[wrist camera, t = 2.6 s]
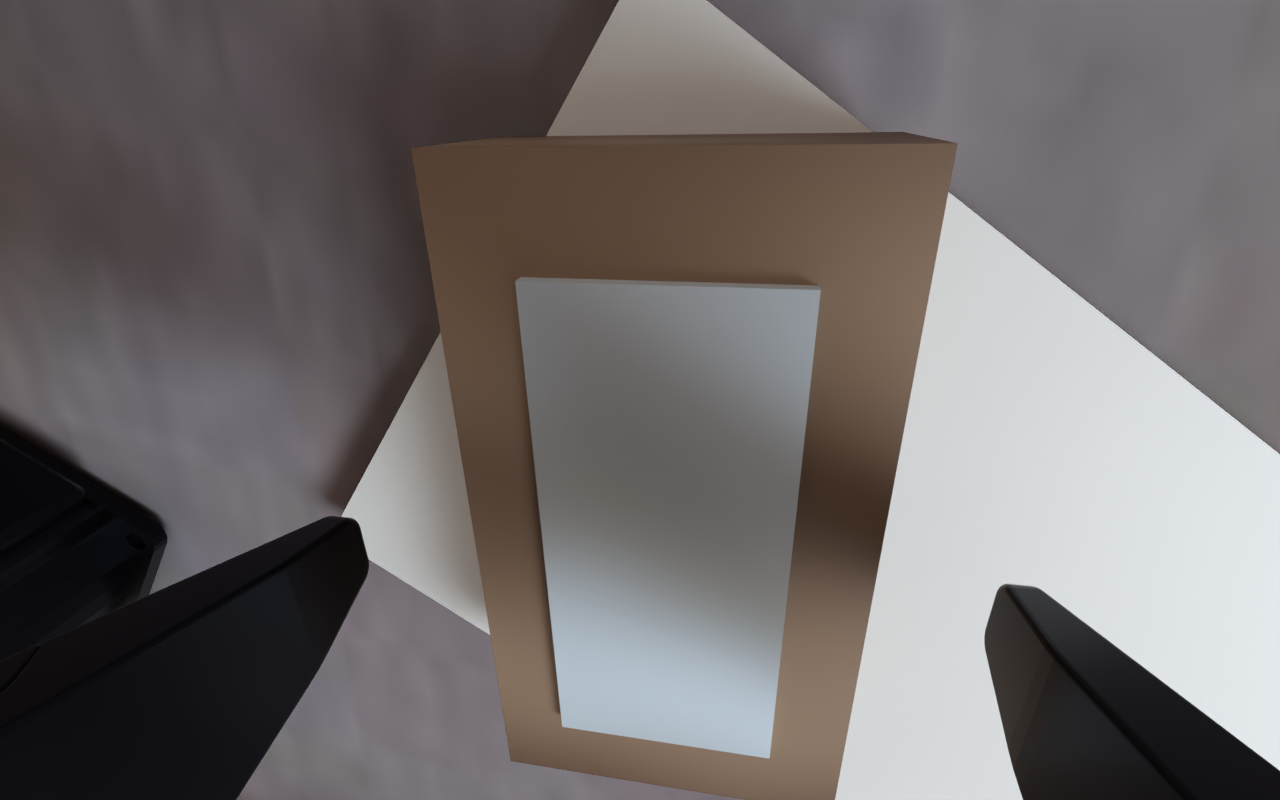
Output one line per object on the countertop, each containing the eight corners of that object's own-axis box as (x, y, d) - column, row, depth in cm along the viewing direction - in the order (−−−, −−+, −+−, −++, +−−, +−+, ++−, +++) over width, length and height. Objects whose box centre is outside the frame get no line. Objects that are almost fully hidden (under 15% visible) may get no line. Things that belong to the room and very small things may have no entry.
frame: (819, 682, 13) (833, 825, 11) (553, 647, 14) (507, 770, 12) (902, 131, 9) (963, 144, 6) (500, 137, 10) (402, 149, 7)
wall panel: (1087, 979, 18) (1134, 1105, 15) (351, 515, 15) (279, 587, 13) (1688, 780, 12) (1902, 938, 10) (654, -37, 9) (619, -82, 7)
